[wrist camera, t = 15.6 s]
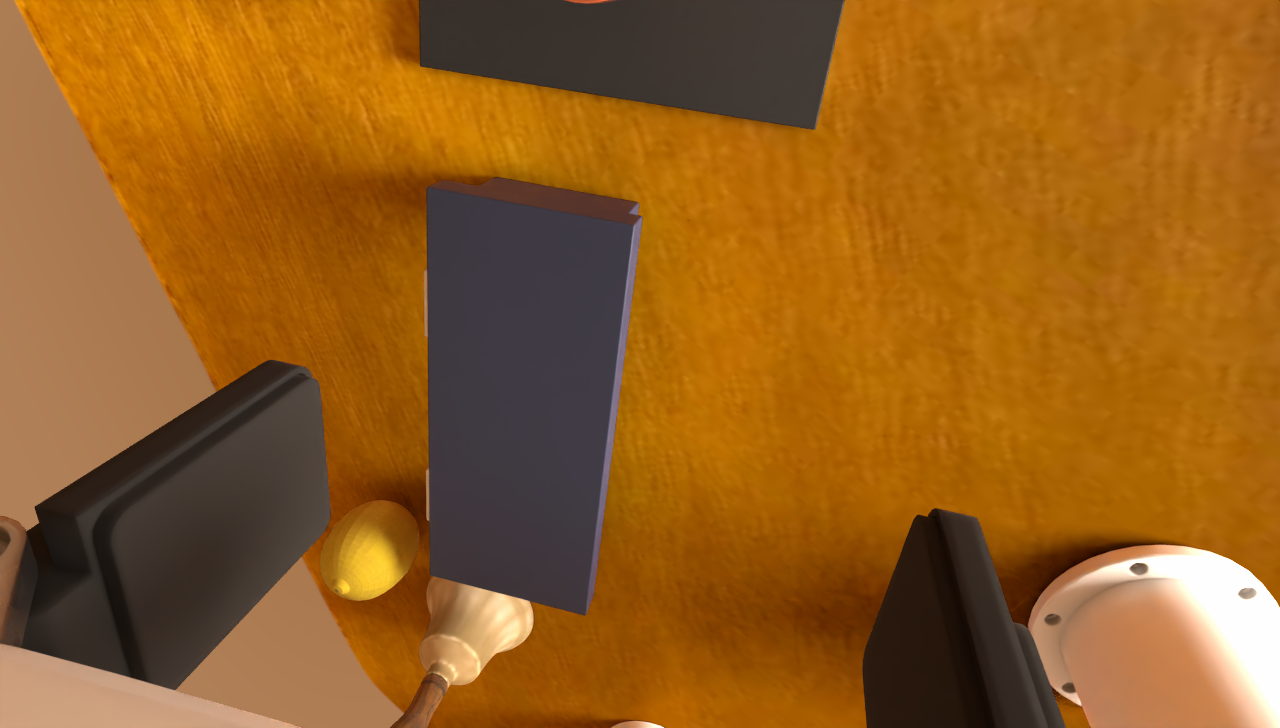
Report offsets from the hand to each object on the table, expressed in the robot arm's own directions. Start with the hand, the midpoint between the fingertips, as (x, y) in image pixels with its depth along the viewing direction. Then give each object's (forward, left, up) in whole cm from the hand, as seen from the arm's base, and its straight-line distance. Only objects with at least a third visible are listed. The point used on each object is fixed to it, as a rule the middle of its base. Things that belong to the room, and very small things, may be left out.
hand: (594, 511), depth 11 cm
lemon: (+19, +27, -28) cm, 44 cm away
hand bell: (+13, +34, -28) cm, 46 cm away
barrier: (+9, +14, -28) cm, 33 cm away
